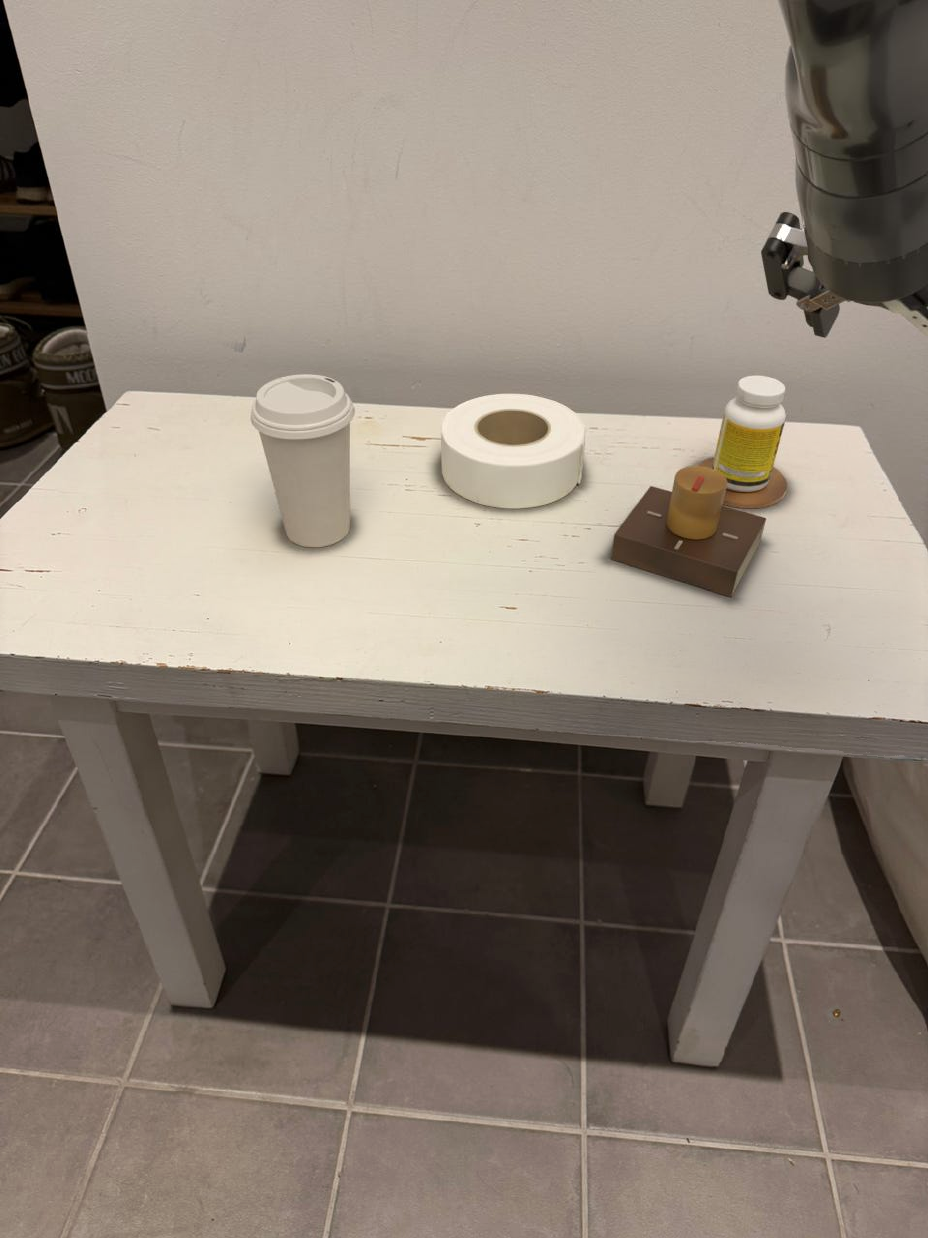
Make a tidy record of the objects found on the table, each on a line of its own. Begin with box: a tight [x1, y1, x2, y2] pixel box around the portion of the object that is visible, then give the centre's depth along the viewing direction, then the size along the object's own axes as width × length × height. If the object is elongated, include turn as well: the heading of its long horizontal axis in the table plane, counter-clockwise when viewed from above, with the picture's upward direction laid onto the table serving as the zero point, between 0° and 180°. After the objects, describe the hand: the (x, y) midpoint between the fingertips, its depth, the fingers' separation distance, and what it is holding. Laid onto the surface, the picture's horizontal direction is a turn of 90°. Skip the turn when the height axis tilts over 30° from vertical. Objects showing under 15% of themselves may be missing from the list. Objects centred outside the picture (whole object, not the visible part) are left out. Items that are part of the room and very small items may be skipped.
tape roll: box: [440, 393, 586, 510], centre depth 95 cm, size 16×16×6 cm
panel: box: [610, 485, 767, 598], centre depth 85 cm, size 12×10×3 cm
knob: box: [666, 465, 727, 539], centre depth 82 cm, size 5×5×6 cm
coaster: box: [697, 456, 788, 509], centre depth 95 cm, size 10×10×1 cm
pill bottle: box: [712, 375, 787, 492], centre depth 91 cm, size 6×6×11 cm
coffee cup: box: [250, 373, 356, 548], centre depth 84 cm, size 10×10×15 cm
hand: (890, 340), depth 57 cm, fingers open, 8 cm apart
